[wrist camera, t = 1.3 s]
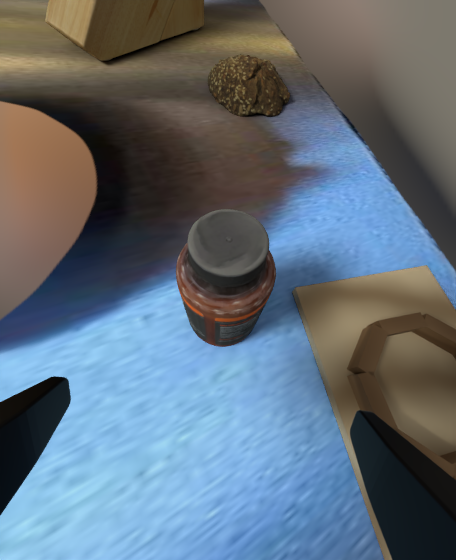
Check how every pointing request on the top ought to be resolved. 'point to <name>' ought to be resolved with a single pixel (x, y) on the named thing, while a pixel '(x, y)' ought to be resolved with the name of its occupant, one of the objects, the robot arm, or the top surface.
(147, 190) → the top surface
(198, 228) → the supplement bottle
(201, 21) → the knife block
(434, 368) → the holder board
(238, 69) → the bread roll
